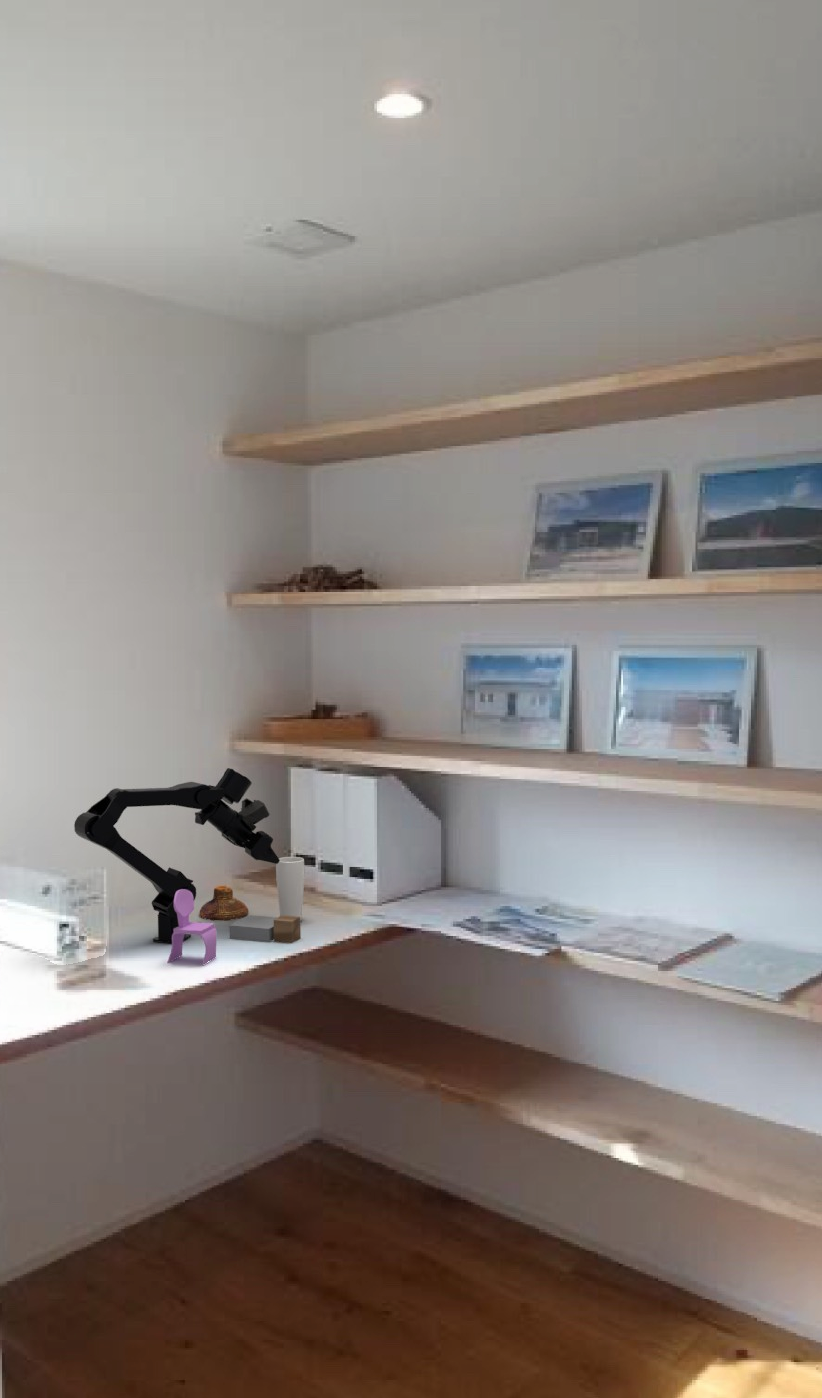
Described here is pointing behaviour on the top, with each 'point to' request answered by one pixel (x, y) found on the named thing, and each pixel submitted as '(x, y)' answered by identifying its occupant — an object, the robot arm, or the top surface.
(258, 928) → the base
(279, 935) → the walnut block
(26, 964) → the top surface
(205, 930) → the toy chair
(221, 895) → the bell
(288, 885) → the white hollow cylinder
